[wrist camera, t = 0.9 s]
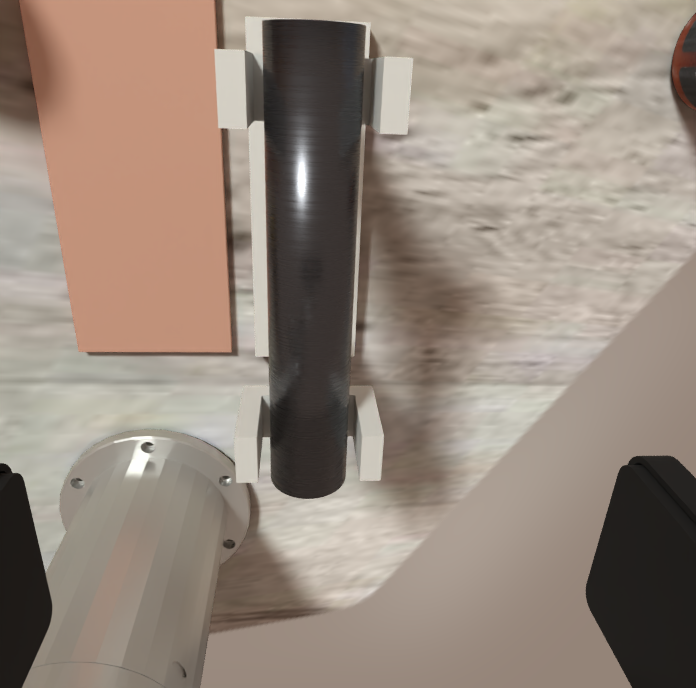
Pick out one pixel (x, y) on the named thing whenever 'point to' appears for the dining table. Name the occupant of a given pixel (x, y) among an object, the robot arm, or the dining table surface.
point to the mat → (135, 169)
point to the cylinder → (311, 243)
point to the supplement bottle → (686, 64)
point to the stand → (240, 113)
